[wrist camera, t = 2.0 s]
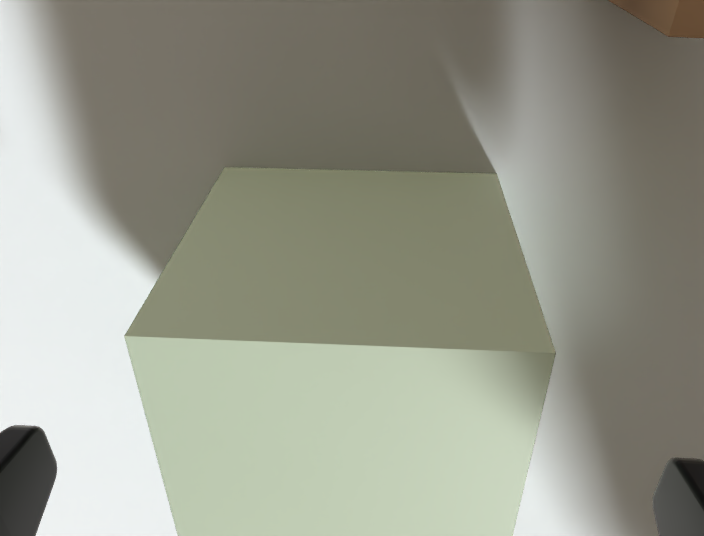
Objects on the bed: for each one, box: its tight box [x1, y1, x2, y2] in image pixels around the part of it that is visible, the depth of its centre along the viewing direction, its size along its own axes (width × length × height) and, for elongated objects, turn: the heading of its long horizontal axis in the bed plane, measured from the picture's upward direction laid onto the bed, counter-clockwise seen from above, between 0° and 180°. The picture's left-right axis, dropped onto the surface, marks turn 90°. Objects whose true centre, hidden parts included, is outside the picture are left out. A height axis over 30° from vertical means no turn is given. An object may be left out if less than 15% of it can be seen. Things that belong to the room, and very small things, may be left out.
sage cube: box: [124, 167, 556, 536], centre depth 10 cm, size 5×5×5 cm
